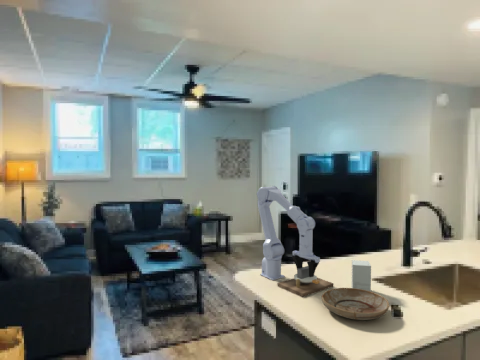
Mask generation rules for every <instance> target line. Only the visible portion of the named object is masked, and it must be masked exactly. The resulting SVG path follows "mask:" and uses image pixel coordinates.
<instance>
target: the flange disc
mask: <svg viewBox="0 0 480 360" xmlns="http://www.w3.org/2000/svg"><path fill="white" fill-rule="evenodd" d="M296 270H297V271H296V272H297V273H295V274H294V277H293V278H294V279H295V280H296V279H300V282H304V283H312V282H313V283H315V284H318V283H320V281H319V280H317V278H318V277H317V275H315V274H314V277H309V267H308V265H306V266H302V268H298V269H297V268H296Z"/></svg>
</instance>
